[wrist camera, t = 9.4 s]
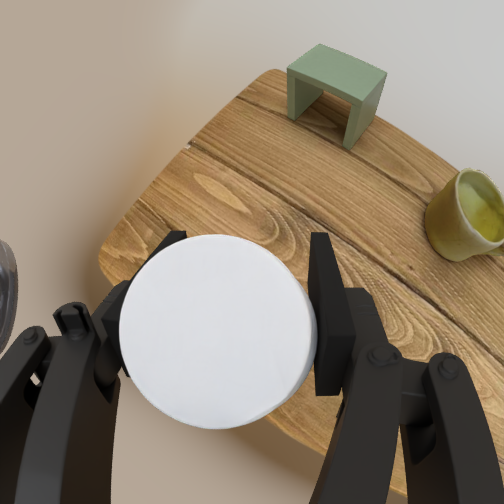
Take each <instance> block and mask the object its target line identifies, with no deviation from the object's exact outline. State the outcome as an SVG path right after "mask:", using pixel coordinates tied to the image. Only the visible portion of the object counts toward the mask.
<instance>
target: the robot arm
mask: <svg viewBox="0 0 504 504" xmlns="http://www.w3.org/2000/svg"><path fill="white" fill-rule="evenodd" d="M184 239H187V235H186V231H170V233H169V234H168V235H167V236H166V237H165V238H164V240H163V241H162V242H161V243H160V244H159V246H158V247H157V248H156V249H155V250H154V251H153V253H152V254H151V255H150V256H149V257H148V259H147V260H146V261H145V262H144V264H143V265H142V266H141V267H140V268H139V270H138V271H137V272H136V273H135V275H134V276H133V277H132V278H131V280H130V281H128V280H124V281H122V282H121V283H119V284H118V285H116V286H115V287H114V288H113V289H112V290H111V292H110V293H109V294H108V296H107V297H106V298H105V299H104V300H103V302H102V303H101V304H100V305H99V306H98V308H97V309H96V310H95V312H94V313H93V314H92V316H91V317H90V314H89V312H88V309H87V307H86V305H85V304H83V303H81V302H72V303H68V304H65V305H63V306H61V307H60V308H59V309H57V310H56V311H55V313H54V314H53V317H54V319H55V321H56V323H57V325H58V327H59V329H60V331H61V333H62V336H53V337H48V336H47V334H46V332H45V330H44V328H43V327H40V326H33V327H29V328H27V329H26V330H24V331H23V332H22V333H21V334H20V335H19V336H18V337H17V339H16V340H15V341H14V342H13V344H12V345H11V346H10V348H9V349H8V350H7V352H6V353H5V354H4V356H3V357H2V358H1V360H0V504H111V473H112V457H113V443H114V433H115V423H116V415H117V407H118V399H119V392H120V385H121V383H120V379H119V377H118V375H117V374H118V372H119V370H120V368H121V367H122V368H123V370H124V372H125V374H126V376H127V377H130V375H129V373H128V370H127V368H126V366H125V363H124V360H123V357H122V352H121V347H120V338H119V323H120V314H121V309H122V306H123V303H124V300H125V296H126V294H127V292H128V289H129V287H130V285H131V283H132V282H133V280H134V278H135V277H136V275H137V274H138V273H139V271H140V270H141V269H142V268H143V266H144V265H145V264H146V263H147V262H148V261H149V260H150V259H151V258H153V257H154V256H155V255H156V254H157V253H159V252H160V251H162V250H163V249H165V248H166V247H168V246H170V245H172V244H174V243H176V242H179V241H181V240H184ZM307 284H308V295H309V299H310V302H311V304H312V306H313V309H314V312H315V316H316V321H317V330H318V342H317V349H316V355H315V358H314V373H315V393H316V396H338V395H339V394H340V391H341V387H342V391H343V400H342V403H341V405H340V408H339V411H338V413H337V416H336V418H337V420H336V424H335V428H334V431H333V434H332V438H331V441H330V444H329V448H328V451H327V454H326V457H325V460H324V463H323V466H322V470H321V472H320V475H319V478H318V481H317V483H316V486H315V489H314V492H313V494H312V497H311V499H310V502H309V504H385V503H386V499H387V495H388V490H389V486H390V481H391V476H392V470H393V465H394V458H395V452H396V445H397V438H398V429H399V426H400V433H401V440H402V447H403V455H404V463H405V472H406V483H407V496H408V504H504V486H503V481H502V476H501V471H500V467H499V463H498V458H497V454H496V451H495V447H494V443H493V440H492V436H491V433H490V429H489V426H488V423H487V420H486V417H485V414H484V411H483V408H482V405H481V402H480V400H479V397H478V394H477V392H476V389H475V386H474V384H473V381H472V379H471V376H470V374H469V372H468V369H467V367H466V365H465V364H464V362H463V361H462V360H461V359H460V358H459V357H457V356H456V355H453V354H451V353H444V352H442V353H438V354H435V355H434V356H433V357H432V358H431V359H430V361H429V363H425V362H419V361H413V360H409V359H406V358H404V357H402V354H401V353H400V351H399V350H398V349H397V348H396V347H395V346H393V345H392V344H390V343H389V342H388V339H387V336H386V333H385V331H384V328H383V325H382V322H381V319H380V317H379V315H378V311H377V308H376V307H375V303H374V300H373V298H372V296H371V295H370V294H369V293H368V292H367V291H366V290H365V289H364V288H344V285H343V282H342V278H341V275H340V271H339V268H338V264H337V261H336V258H335V254H334V251H333V248H332V245H331V241H330V238H329V235H328V233H323V232H311V241H310V256H309V270H308V283H307ZM33 373H34V374H35V375H36V377H37V378H38V379H39V380H40V382H39V384H38V385H35V384H34V383H33V382H32V380H31V379H30V377H31V376H32V375H33ZM130 378H131V377H130Z"/></svg>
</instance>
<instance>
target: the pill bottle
mask: <svg viewBox="0 0 504 504" xmlns="http://www.w3.org/2000/svg"><path fill="white" fill-rule="evenodd" d="M119 338H120V347H121V352H122V357H123V360H124V363H125V366H126V368H127V370H128V373H129V375H130V377H131V379H132V381H133V382H134V384H135V385H136V387H137V388H138V389H139V390H140V392H141V393H142V395H143V396H144V397H145V398H146V399H147V400H148V401H149V402H150V403H151V404H152V405H154V406H155V407H156V408H157V409H158V410H160V411H161V412H163V413H164V414H166V415H168V416H170V417H171V418H173V419H175V420H177V421H180V422H182V423H185V424H187V425H191V426H195V427H199V428H206V429H229V428H234V427H238V426H242V425H246V424H248V423H251V422H254V421H256V420H258V419H260V418H262V417H264V416H265V415H267V414H269V413H270V412H272V411H273V410H275V409H276V408H277V407H279V406H281V405H282V404H283V403H284V402H286V401H287V400H288V399H289V398H290V397H292V395H293V394H294V393H295V392H296V391H297V390H298V389H299V388H300V386H301V385H302V384H303V382H304V381H305V379H306V377H307V376H308V374H309V372H310V369H311V367H312V365H313V362H314V358H315V355H316V349H317V342H318V330H317V321H316V316H315V312H314V309H313V306H312V304H311V302H310V299H309V297H308V295H307V293H306V292H305V290H304V289H303V287H302V286H301V285H300V283H299V282H298V281H297V280H296V279H295V277H294V276H293V275H292V273H291V272H290V271H289V269H288V268H287V267H286V266H285V265H284V264H283V263H282V262H281V261H280V260H279V259H278V258H277V257H276V256H274V255H273V254H272V253H271V252H269V251H268V250H266V249H264V248H263V247H261V246H259V245H257V244H255V243H253V242H251V241H248V240H245V239H242V238H239V237H235V236H228V235H219V234H215V235H200V236H195V237H191V238H187V239H184V240H181V241H179V242H176V243H174V244H172V245H170V246H168V247H166V248H165V249H163V250H162V251H160V252H159V253H157V254H156V255H155V256H154V257H153V258H151V259H150V260H149V261H148V262H147V263H146V264H145V265H144V266H143V268H142V269H141V270H140V271H139V273H138V274H137V275H136V277H135V278H134V280H133V282H132V283H131V285H130V287H129V289H128V292H127V294H126V296H125V300H124V303H123V306H122V309H121V314H120V323H119Z"/></svg>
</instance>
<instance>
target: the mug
mask: <svg viewBox="0 0 504 504" xmlns="http://www.w3.org/2000/svg"><path fill="white" fill-rule="evenodd" d="M425 229H426V232H427V236H428V239H429V242H430V244H431V245H432V247H433V248H434V250H436V251H437V252H438V253H439V254H440V255H442V256H443V257H444V258H446V259H448V260H451V261H455V262H458V261H463V260H465V259H467V258H469V257H471V256H473V255H478V254H490V255H493V256H504V198H503V195H502V194H501V192H500V190H499V189H498V187H497V186H496V184H495V183H494V182H493V181H492V180H491V178H490V177H489V176H488V175H486V174H485V173H484V172H482V171H480V170H474V169H471V168H466V169H463V170H462V171H461V172H459V173H458V174H457V175H456V176H455V177H454V178H453V179H452V180H450V181H449V182H448V183H447V185H446V186H445V188H444V189H443V190H442V191H441V192H440V193H439V194H438V195H437V196H436V197H435V198H434V199H433V200H432V201H431V202H430V203H429V205H428V207H427V209H426V212H425Z"/></svg>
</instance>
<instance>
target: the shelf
mask: <svg viewBox="0 0 504 504" xmlns="http://www.w3.org/2000/svg"><path fill="white" fill-rule="evenodd" d="M386 76H387V72H385V71H383V70H381V69H379V68H377V67H375V66H373V65H370V64H368V63H366V62H364V61H362V60H359V59H357V58H355V57H353V56H350V55H348V54H345V53H343V52H340V51H338V50H335V49H333V48H330V47H327V46H325V45H322V44H318V45H317V46H315V47H314V48H313V49H311V50H310V51H308V52H307V53H305V54H304V55H303V56H301V57H300V58H299V59H297V60H296V61H295V62H293V63H292V64H291V65H289V66H288V67H287V105H288V118H290V119H292V120H294V121H295V120H296V119H297V118H298V117H299V116H300V115H301V114H302V113H303V112H304V111H305V110H306V109H307V108H308V107H309V106H310V105H311V104H312V103H313V102H314V101H315V100H316V99H317V98H318V97H319V96H320V95H321V94H322V93H323V90H325V91H327V92H329V93H331V94H334V95H336V96H338V97H340V98H342V99H344V100H346V101H348V102H350V103H352V106H351V110H350V115H349V119H348V124H347V128H346V132H345V136H344V141H343V145H342V146H343V147H345V148H346V149H348V150H350V149H351V148H352V147H353V145H354V144H355V143H356V141H357V140H358V139H359V138H360V136H361V135H362V134H363V132H364V131H365V130H366V128H367V127H368V126H369V124H370V123H371V122H372V120H373V119H374V116H375V113H376V110H377V106H378V103H379V100H380V96H381V93H382V90H383V87H384V83H385V79H386Z"/></svg>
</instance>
